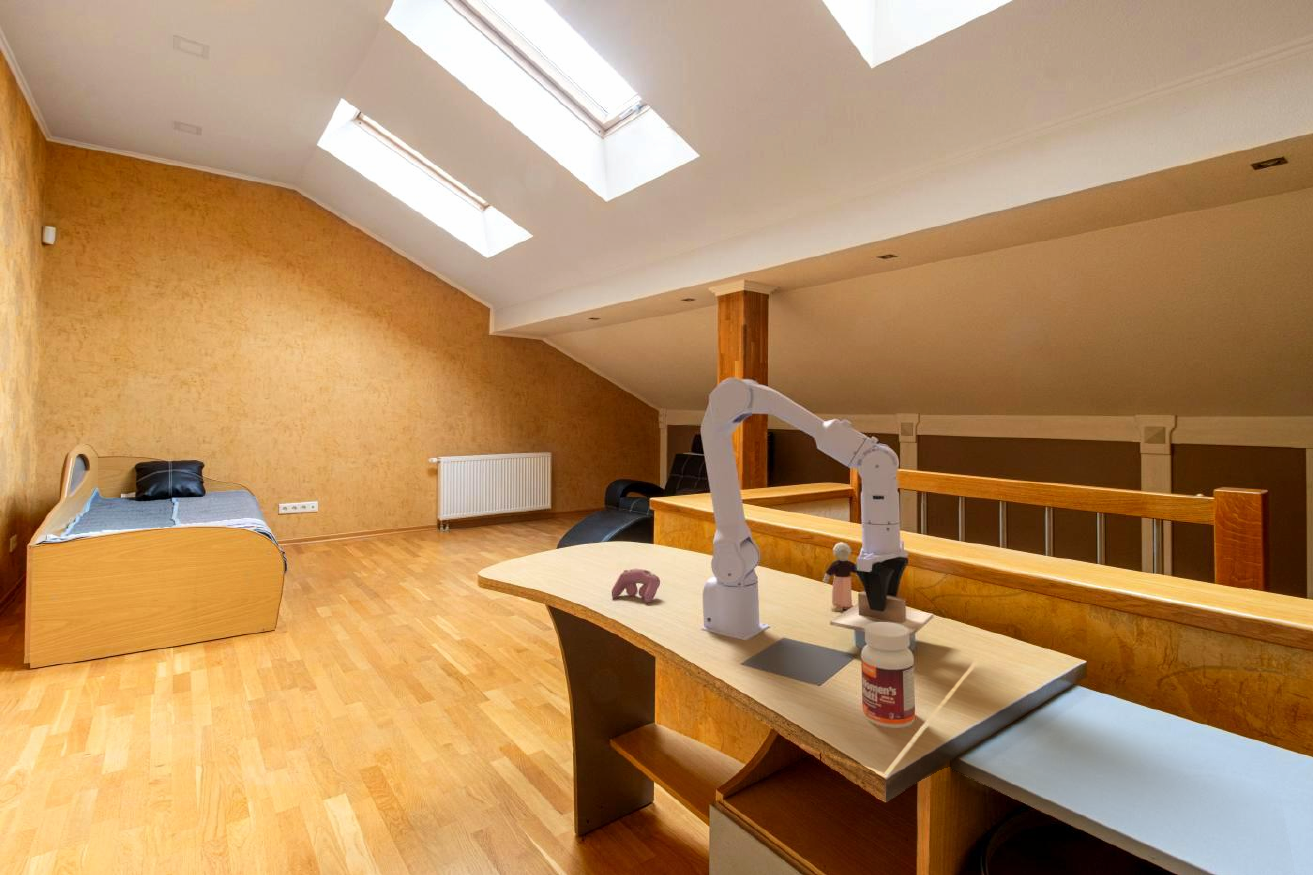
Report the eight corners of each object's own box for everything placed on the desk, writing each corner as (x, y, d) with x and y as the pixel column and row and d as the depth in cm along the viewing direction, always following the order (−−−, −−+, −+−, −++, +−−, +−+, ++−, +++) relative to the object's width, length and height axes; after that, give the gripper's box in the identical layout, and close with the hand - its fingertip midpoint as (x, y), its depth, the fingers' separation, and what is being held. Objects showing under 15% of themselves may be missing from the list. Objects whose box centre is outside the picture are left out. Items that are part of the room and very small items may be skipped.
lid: (830, 624, 99) (829, 599, 99) (861, 604, 108) (860, 581, 108) (906, 640, 92) (906, 613, 91) (933, 617, 101) (932, 592, 100)
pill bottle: (854, 721, 77) (851, 631, 77) (873, 701, 82) (871, 616, 81) (905, 736, 73) (903, 641, 73) (922, 715, 78) (920, 625, 77)
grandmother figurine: (834, 614, 116) (831, 546, 115) (821, 608, 119) (819, 542, 119) (867, 607, 119) (865, 541, 118) (853, 602, 122) (851, 538, 122)
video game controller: (658, 606, 130) (665, 573, 132) (647, 602, 127) (654, 568, 129) (619, 600, 135) (626, 568, 138) (608, 596, 132) (615, 564, 134)
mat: (740, 666, 95) (740, 663, 95) (783, 639, 105) (783, 637, 105) (819, 688, 86) (819, 685, 86) (858, 657, 96) (858, 654, 96)
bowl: (845, 649, 100) (844, 624, 99) (868, 632, 106) (867, 608, 106) (902, 662, 94) (901, 635, 93) (922, 643, 100) (922, 618, 100)
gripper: (888, 532, 91) (891, 624, 92) (921, 516, 102) (924, 598, 103) (842, 527, 96) (845, 615, 96) (879, 512, 107) (881, 591, 107)
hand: (883, 606), depth 100 cm, fingers open, 4 cm apart
